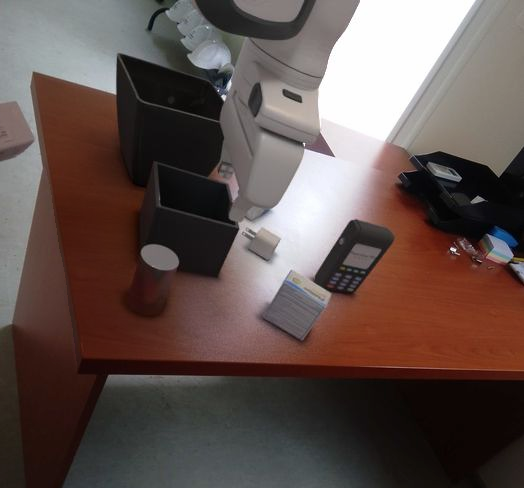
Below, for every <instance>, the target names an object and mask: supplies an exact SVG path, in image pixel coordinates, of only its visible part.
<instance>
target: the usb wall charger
mask: <svg viewBox="0 0 524 488" xmlns="http://www.w3.org/2000/svg"><path fill="white" fill-rule="evenodd" d="M245 231H246V232H245ZM245 231H242V232H241V235H242V236H243V237H244V238H246V239H248V240H249V241H250V244H249V247H248V250H250V251H252V252H253V253H255V254H257V255H258V256H260V257H261V258H263V259H264V260H266V261H269V260H270V258H271V257H272V256H273V255H274V253H275V251H276V249H277V247H278V245H279V244H280V241H281V240H282V237H280V236H278V235H277V234H275V233H273V232H271V231H270V230H268V229H267V228H265V227H264V226H261V227H260V228H259V229H258V231H254V230H253V229H251V228H249V227H246V228H245Z"/></svg>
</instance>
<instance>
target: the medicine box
mask: <svg viewBox="0 0 524 488" xmlns="http://www.w3.org/2000/svg"><path fill="white" fill-rule="evenodd" d="M331 296H332V293H331V292H330V291H329V290H325V289H323V288H322V287H320V286H319V285H317V284H316V282H315V281H312V280H311V279H309V278H307V277H305V276H304V275H302V274H301V273H299V272H297V271H295V270H294V269H290V271H289V272H288V274H287V275H286V277H285V278H284V280H283V281H282V283H281V285H280V286H279V288H278V290H277V291H276V293H275V295H274V297H273V299H272V300H271V301H270V303H269V305H268V307H267V309H266V310H265V312H264V314H263V315H262V318H263V319H264V320H266V321H268V322H269V323H271V324H272V325H275V326H276V327H277V328H280V329H281V330H283V331H285V332H286V333H288V334H290V335H291V336H293V337H294V338H296V339H297V340H299V341H301V342H303V341H304V339H305V338H306V336H307V335H308V334H309V333H310V330H311V329H312V328H313V327H314V325H315V324H316V322H317V321H318V320H319V319H320V317H321V316H322V314H323V313H324V311H325V310H326V309H327V307H328V304H329V302H330V300H331Z"/></svg>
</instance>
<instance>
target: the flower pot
mask: <svg viewBox="0 0 524 488" xmlns="http://www.w3.org/2000/svg"><path fill="white" fill-rule="evenodd" d="M224 101H225V99H223V97H222V95H221V94H220V93H219V91H218V89H217V88H216V86H215V85H214V83H213V82H211V81H210V80H208V79H205V78H202V77H199V76H196V75H193V74H190V73H186V72H183V71H180V70H177V69H173V68H170V67H167V66H164V65H162V64H158V63H155V62H152V61H148V60H145V59H142V58H139V57H136V56H131V55H129V54H125V53H122V52H118V53H116V65H115V102H116V103H115V105H116V120H117V131H118V139H119V147H120V151H121V154H122V157H123V160H124V162H125V165H126V168H127V171H128V174H129V176H130V179H131V181H132V183H133V184H135V185H138V186H145V187H147V184H148V180H149V177H150V173H151V169H152V166H153V162H154V161H156V162H159V163H163V164H166V165H169V166H172V167H176V168H179V169H182V170H185V171H189V172H192V173H195V174H198V175H202V176H205V177H208V178H210V177H209V176H211V174H212V173H213V172H214V171H215V170H216V169H217V168H216V167H218V165H219V162H220V159H221V153H222V146H223V141H224V135H223V131H222V128H221V125H220V114H221V110H222V107H223V104H224Z"/></svg>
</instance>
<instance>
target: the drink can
mask: <svg viewBox="0 0 524 488" xmlns="http://www.w3.org/2000/svg"><path fill="white" fill-rule="evenodd" d="M137 260H138V261H137V263H136V267H135V271H134V274H133V278H132V282H131V284H130V288H129V291H128V294H127V297H126V301H127V304H128V305H127V306H128V307H129V308H130V309H131V310H132V311H134V312H135V313H137V314H139V315H142V316H147V317H152V316H156V315H158V314H160V313H161V311H162V310H163V308H164V305H165V302H166V299H167V297H168V295H169V291H170V289H171V286H172V283H173V281H174V278H175V275H176V273H177V270H178V269H177V267H178V265H179V259H178V257H177V255H176V254H175V253H174V252H173V251H172V250H170V249H169V248H167V247H164V246H161V245H156V244H150V245H146V246H145V247H143V248H142V250H141V253H140V252H139V257H138V259H137Z"/></svg>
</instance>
